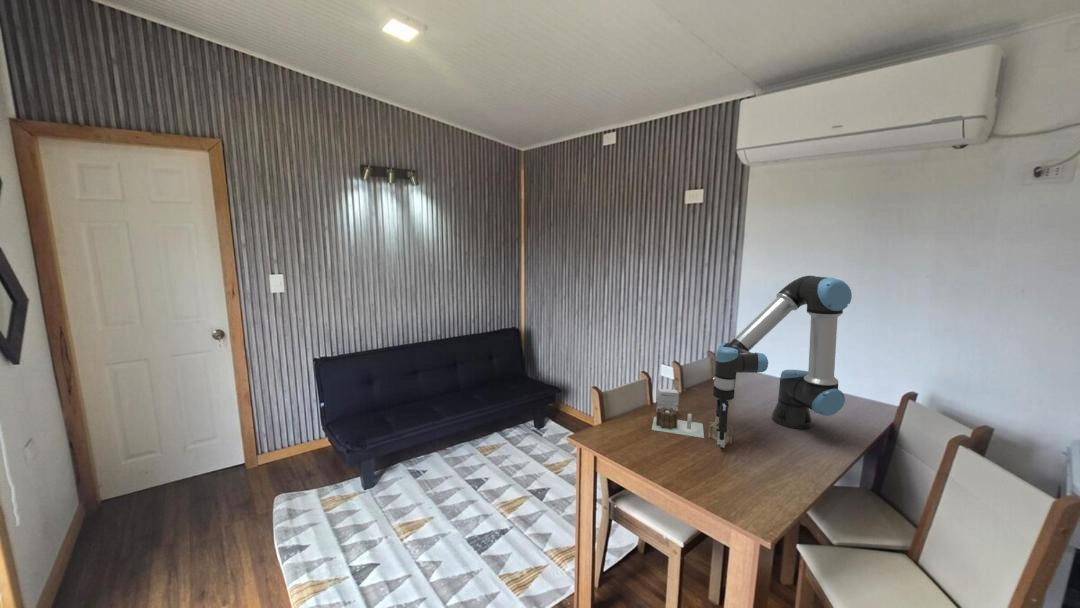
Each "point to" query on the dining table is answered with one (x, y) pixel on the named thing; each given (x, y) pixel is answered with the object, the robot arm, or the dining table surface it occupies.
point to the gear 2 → (714, 433)
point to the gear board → (682, 427)
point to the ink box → (668, 399)
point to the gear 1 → (667, 418)
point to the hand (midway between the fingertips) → (719, 439)
